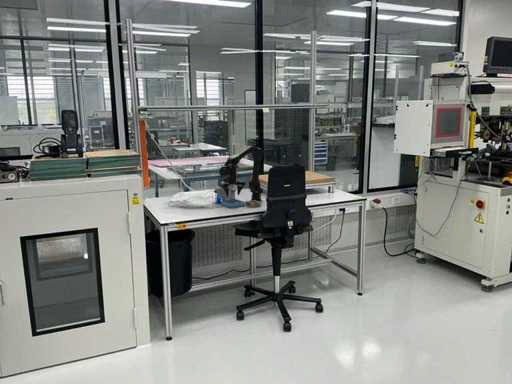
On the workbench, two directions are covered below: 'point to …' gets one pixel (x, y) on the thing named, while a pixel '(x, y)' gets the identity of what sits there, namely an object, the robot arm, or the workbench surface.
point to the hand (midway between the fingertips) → (232, 196)
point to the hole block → (252, 203)
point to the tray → (237, 203)
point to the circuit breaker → (223, 192)
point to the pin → (232, 195)
